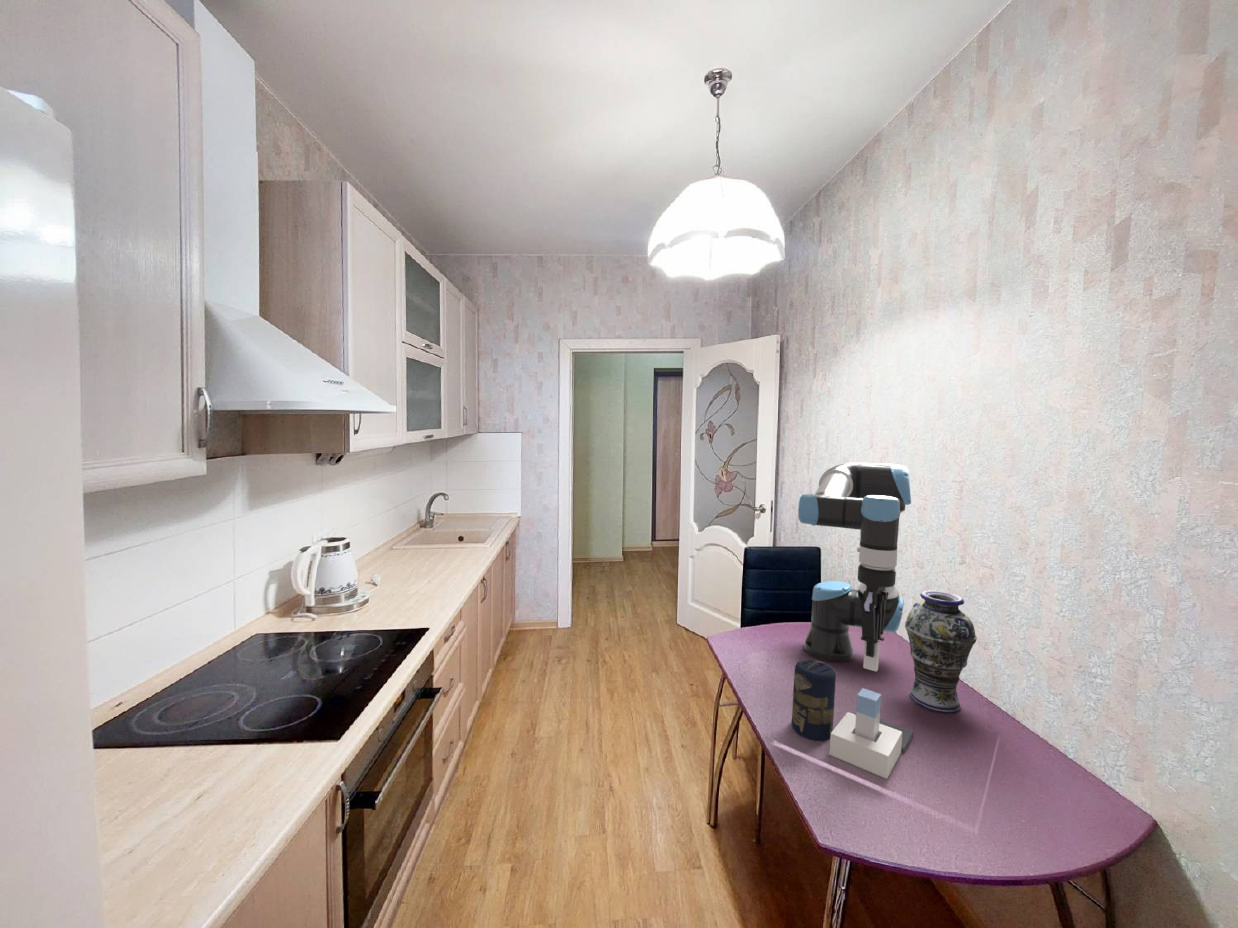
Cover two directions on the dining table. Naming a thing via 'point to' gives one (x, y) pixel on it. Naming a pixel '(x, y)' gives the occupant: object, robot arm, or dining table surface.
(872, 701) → the plug
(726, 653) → the dining table surface
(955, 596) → the vase
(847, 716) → the block
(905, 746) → the gray recessed square plate
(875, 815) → the dining table surface
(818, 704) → the canister
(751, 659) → the dining table surface
